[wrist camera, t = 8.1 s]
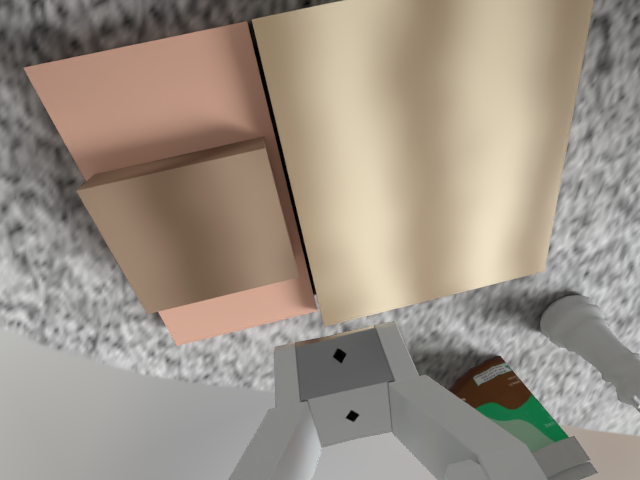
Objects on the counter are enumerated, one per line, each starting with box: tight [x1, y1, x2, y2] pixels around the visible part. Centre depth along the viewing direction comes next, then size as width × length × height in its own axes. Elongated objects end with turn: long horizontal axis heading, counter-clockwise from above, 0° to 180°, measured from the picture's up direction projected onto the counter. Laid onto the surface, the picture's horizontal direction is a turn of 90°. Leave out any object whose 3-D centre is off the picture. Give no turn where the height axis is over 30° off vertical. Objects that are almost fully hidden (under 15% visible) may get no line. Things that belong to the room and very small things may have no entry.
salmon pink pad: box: [23, 21, 317, 346], centre depth 19 cm, size 9×16×2 cm, turn 10°
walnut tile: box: [76, 136, 299, 314], centre depth 18 cm, size 8×7×2 cm
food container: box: [449, 356, 598, 480], centre depth 29 cm, size 12×6×10 cm, turn 11°
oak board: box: [252, 0, 594, 327], centre depth 19 cm, size 14×16×3 cm
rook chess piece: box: [540, 295, 640, 412], centre depth 26 cm, size 4×4×8 cm
